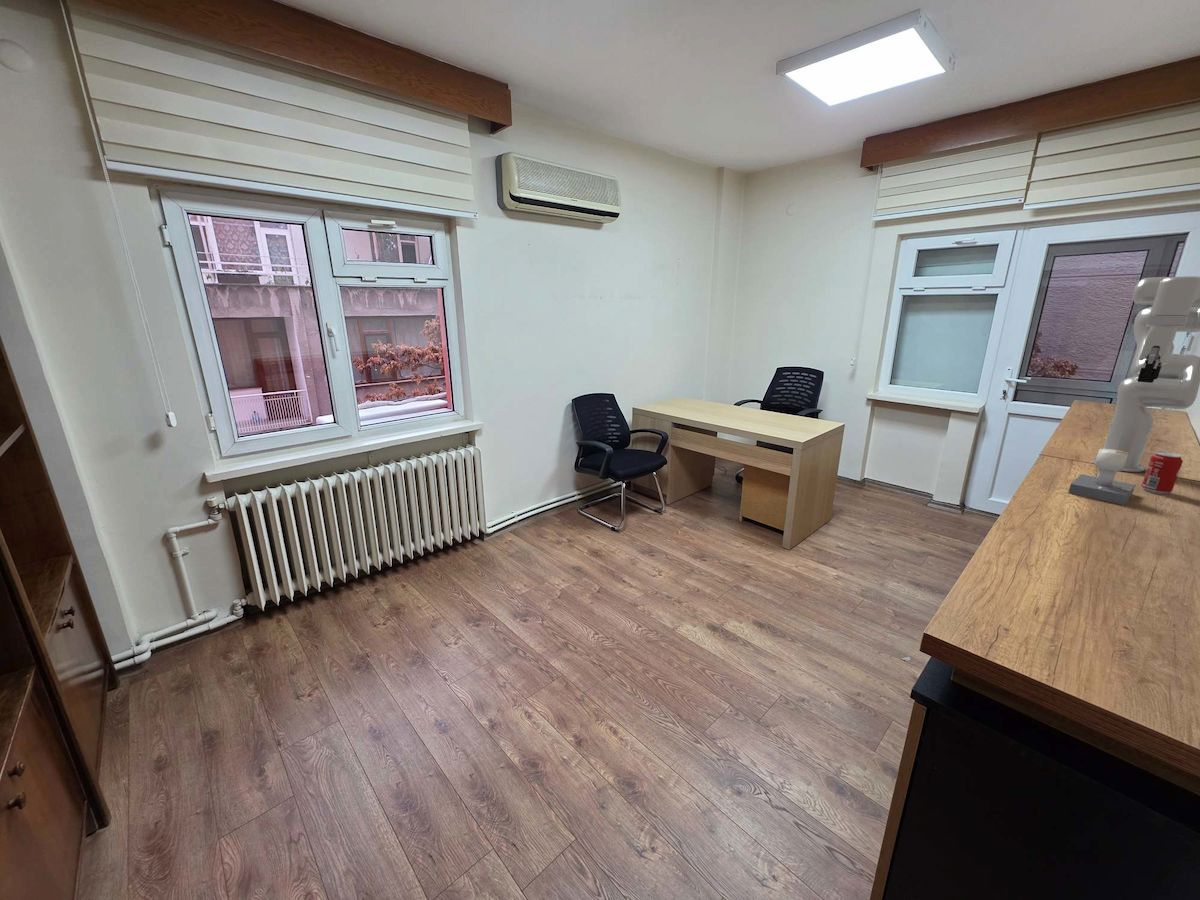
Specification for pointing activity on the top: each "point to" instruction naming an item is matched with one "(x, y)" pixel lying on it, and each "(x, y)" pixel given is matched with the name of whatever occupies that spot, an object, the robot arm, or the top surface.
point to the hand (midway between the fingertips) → (1147, 380)
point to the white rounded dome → (1111, 459)
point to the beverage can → (1162, 472)
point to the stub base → (1102, 487)
